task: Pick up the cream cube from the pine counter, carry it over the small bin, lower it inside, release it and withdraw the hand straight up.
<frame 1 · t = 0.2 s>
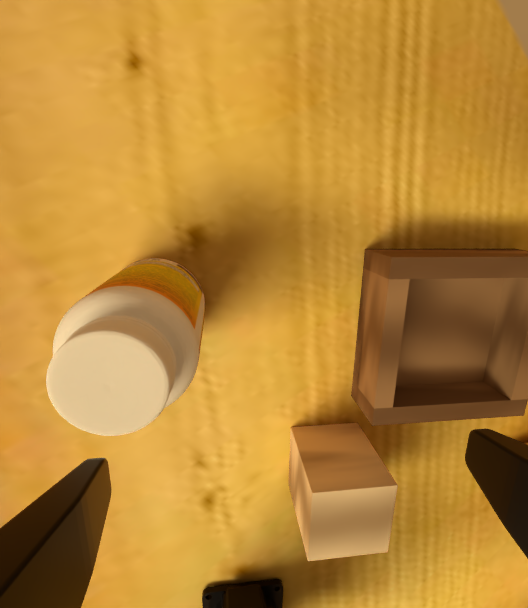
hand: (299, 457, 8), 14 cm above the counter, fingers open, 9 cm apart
bin: (430, 324, 24), on the counter
cream cube: (322, 453, 26), on the counter
supplement bottle: (160, 301, 21), on the counter
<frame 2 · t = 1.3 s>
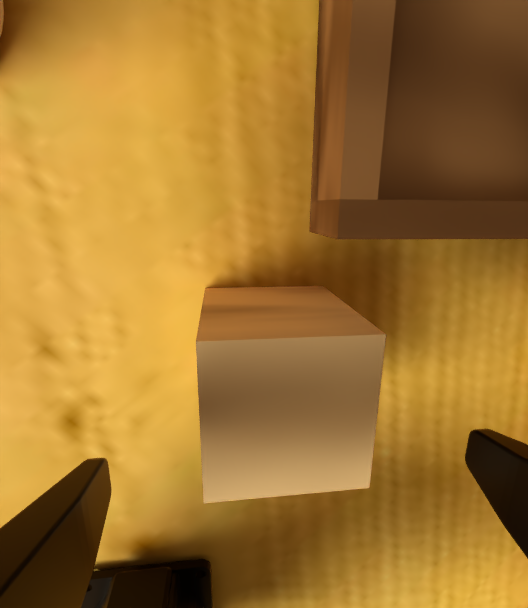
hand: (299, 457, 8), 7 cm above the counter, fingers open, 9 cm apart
bin: (446, 94, 13), on the counter
cream cube: (264, 341, 15), on the counter
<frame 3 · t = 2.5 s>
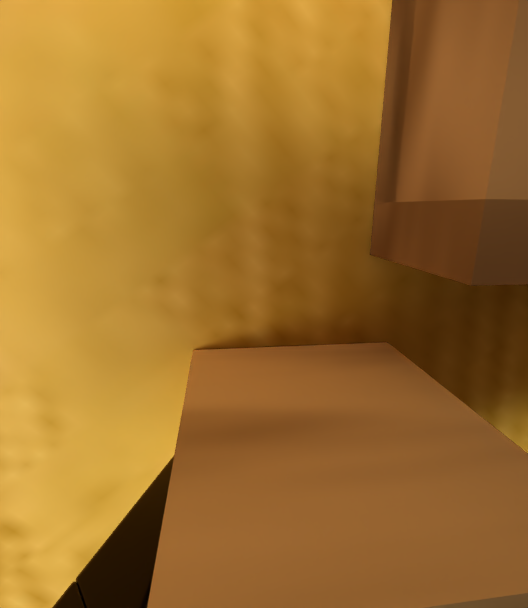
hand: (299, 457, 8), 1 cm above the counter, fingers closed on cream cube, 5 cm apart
cream cube: (290, 431, 9), on the counter, touching gripper
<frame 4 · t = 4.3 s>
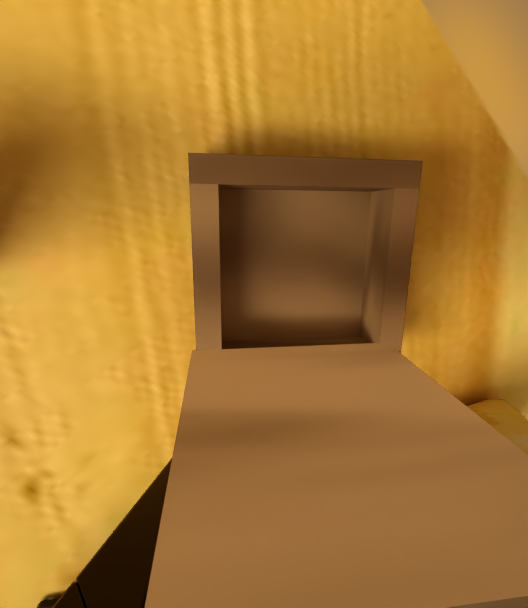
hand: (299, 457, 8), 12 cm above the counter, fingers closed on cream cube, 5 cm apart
chocolate bunny: (432, 441, 24), on the counter
bin: (290, 265, 20), on the counter
cream cube: (290, 432, 9), point 11 cm above the counter, touching gripper
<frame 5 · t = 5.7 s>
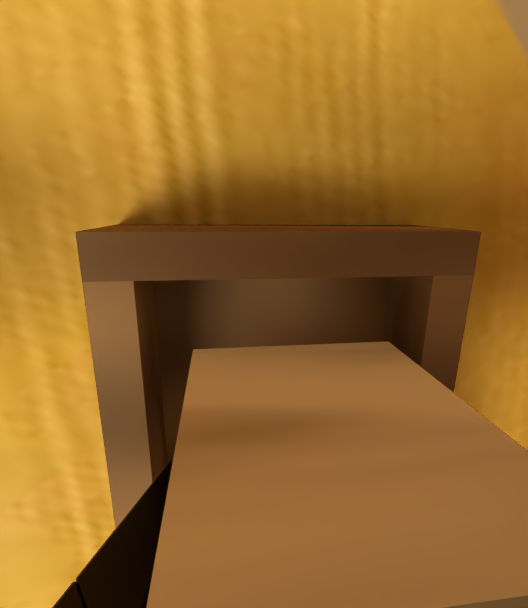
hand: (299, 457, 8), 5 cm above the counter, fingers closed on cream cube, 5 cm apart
bin: (270, 361, 14), on the counter
cream cube: (291, 431, 9), point 4 cm above the counter, touching gripper
when the fingers open (4 cm above the counter, at t = 6.4 s): cream cube drops 2 cm, resting on bin.
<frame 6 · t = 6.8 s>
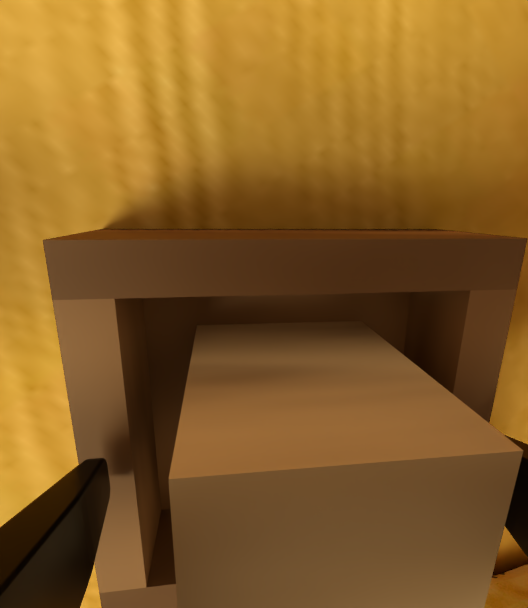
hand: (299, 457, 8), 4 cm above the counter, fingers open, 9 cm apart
chocolate bunny: (486, 599, 17), on the counter
bin: (275, 381, 12), on the counter
cream cube: (279, 397, 11), point 1 cm above the counter, touching bin
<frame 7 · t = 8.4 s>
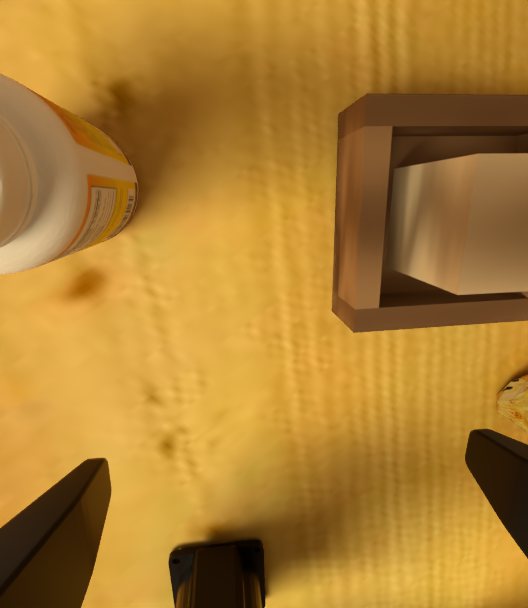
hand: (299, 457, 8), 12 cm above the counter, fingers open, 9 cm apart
bin: (424, 217, 19), on the counter
cream cube: (434, 218, 19), point 1 cm above the counter, touching bin
supplement bottle: (83, 186, 17), on the counter
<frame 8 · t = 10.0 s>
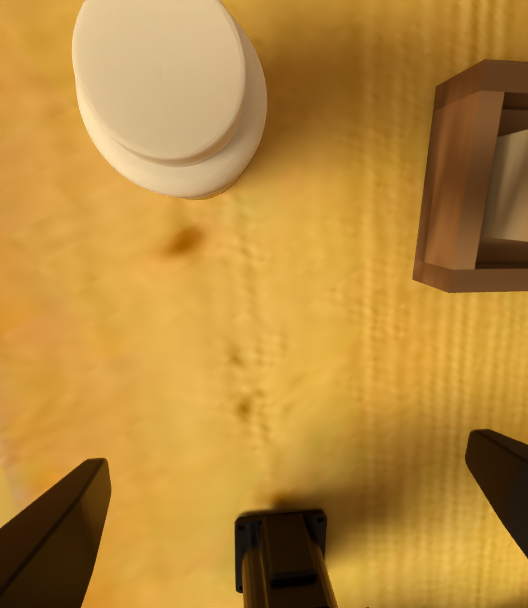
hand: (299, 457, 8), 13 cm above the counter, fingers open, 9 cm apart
bin: (506, 191, 20), on the counter
cream cube: (519, 190, 19), point 1 cm above the counter, touching bin
supplement bottle: (193, 145, 18), on the counter
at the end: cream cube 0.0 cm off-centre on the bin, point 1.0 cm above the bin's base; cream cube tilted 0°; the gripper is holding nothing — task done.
